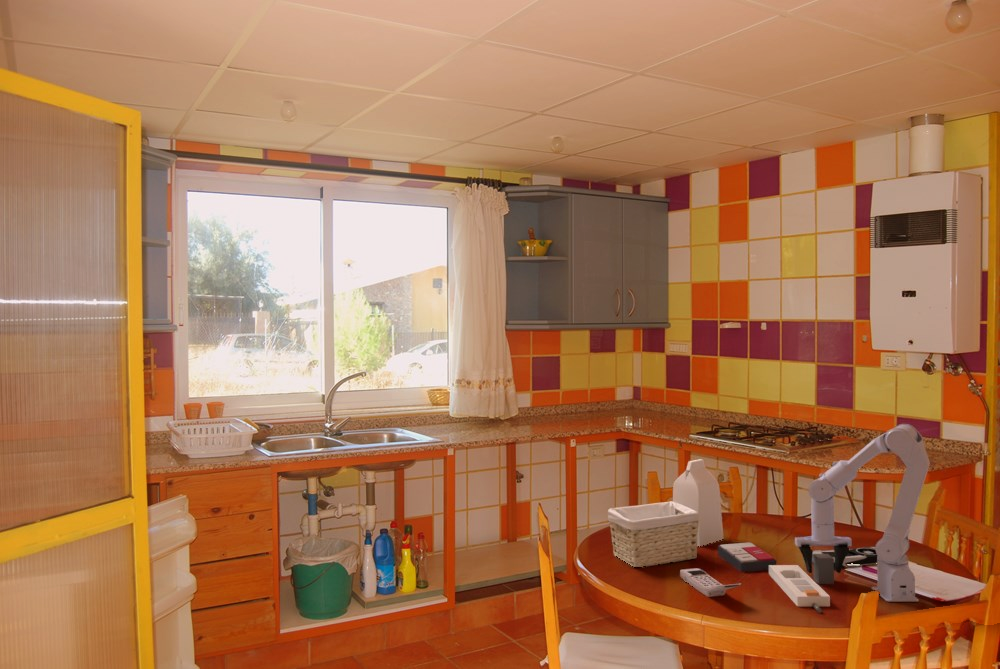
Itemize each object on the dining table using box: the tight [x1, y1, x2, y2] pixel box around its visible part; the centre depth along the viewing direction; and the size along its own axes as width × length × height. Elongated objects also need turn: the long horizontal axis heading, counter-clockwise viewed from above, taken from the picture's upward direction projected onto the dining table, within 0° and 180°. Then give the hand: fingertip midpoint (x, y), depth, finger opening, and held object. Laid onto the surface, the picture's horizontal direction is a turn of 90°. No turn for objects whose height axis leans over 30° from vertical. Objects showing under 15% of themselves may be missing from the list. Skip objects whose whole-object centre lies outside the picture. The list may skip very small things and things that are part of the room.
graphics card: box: [812, 546, 878, 569], centre depth 222 cm, size 10×3×25 cm
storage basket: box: [607, 500, 699, 568], centre depth 230 cm, size 24×16×15 cm
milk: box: [672, 458, 724, 548], centre depth 248 cm, size 12×12×26 cm
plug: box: [812, 554, 835, 585], centre depth 207 cm, size 5×4×7 cm
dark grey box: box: [717, 542, 777, 573], centre depth 224 cm, size 11×4×15 cm
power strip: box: [768, 564, 831, 614], centre depth 199 cm, size 28×8×3 cm, turn 177°
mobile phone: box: [679, 567, 742, 598], centre depth 202 cm, size 6×6×25 cm
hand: (823, 571), depth 206 cm, fingers open, 7 cm apart
